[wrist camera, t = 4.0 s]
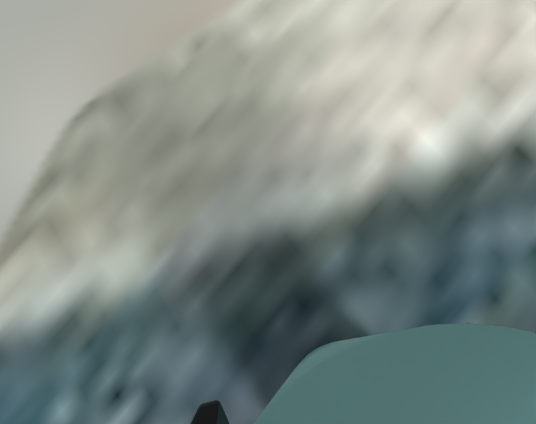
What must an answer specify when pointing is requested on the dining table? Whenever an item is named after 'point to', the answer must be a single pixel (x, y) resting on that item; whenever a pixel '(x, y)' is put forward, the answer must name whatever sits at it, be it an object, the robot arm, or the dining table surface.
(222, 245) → the dining table surface
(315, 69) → the dining table surface
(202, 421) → the robot arm
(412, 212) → the dining table surface
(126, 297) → the dining table surface
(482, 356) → the teal peg
